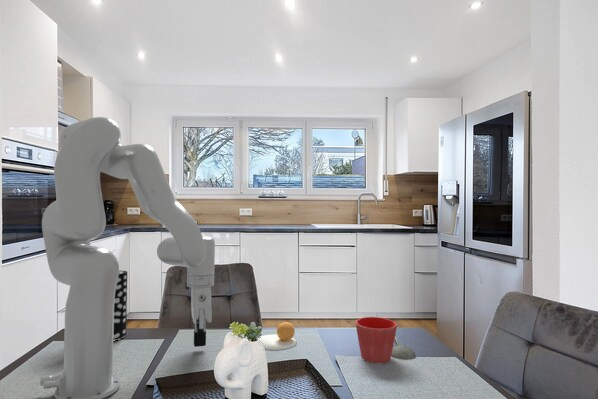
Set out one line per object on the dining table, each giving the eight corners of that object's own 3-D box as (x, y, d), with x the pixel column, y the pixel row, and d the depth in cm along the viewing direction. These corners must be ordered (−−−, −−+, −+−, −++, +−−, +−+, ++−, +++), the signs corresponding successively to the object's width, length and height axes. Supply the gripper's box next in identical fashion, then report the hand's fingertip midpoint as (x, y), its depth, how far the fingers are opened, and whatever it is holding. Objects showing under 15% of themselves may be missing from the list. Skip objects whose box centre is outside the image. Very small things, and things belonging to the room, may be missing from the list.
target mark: (258, 352, 107) (258, 351, 107) (249, 337, 119) (249, 336, 119) (302, 347, 111) (302, 346, 111) (288, 333, 123) (288, 332, 123)
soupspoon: (392, 364, 103) (417, 366, 102) (392, 351, 103) (417, 353, 102) (382, 334, 125) (402, 336, 124) (382, 324, 125) (403, 325, 124)
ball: (300, 332, 116) (288, 347, 114) (294, 327, 121) (282, 341, 119) (288, 321, 114) (276, 335, 113) (282, 316, 119) (270, 330, 118)
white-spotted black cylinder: (131, 333, 121) (132, 270, 122) (116, 343, 113) (117, 275, 113) (106, 332, 122) (108, 270, 123) (90, 341, 114) (91, 274, 114)
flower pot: (397, 368, 97) (397, 329, 97) (354, 364, 99) (354, 326, 100) (395, 352, 108) (395, 318, 108) (356, 349, 110) (356, 315, 110)
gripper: (217, 284, 102) (216, 353, 102) (211, 275, 117) (210, 335, 116) (188, 286, 100) (187, 356, 100) (185, 276, 114) (184, 338, 114)
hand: (199, 345), depth 108 cm, fingers closed
